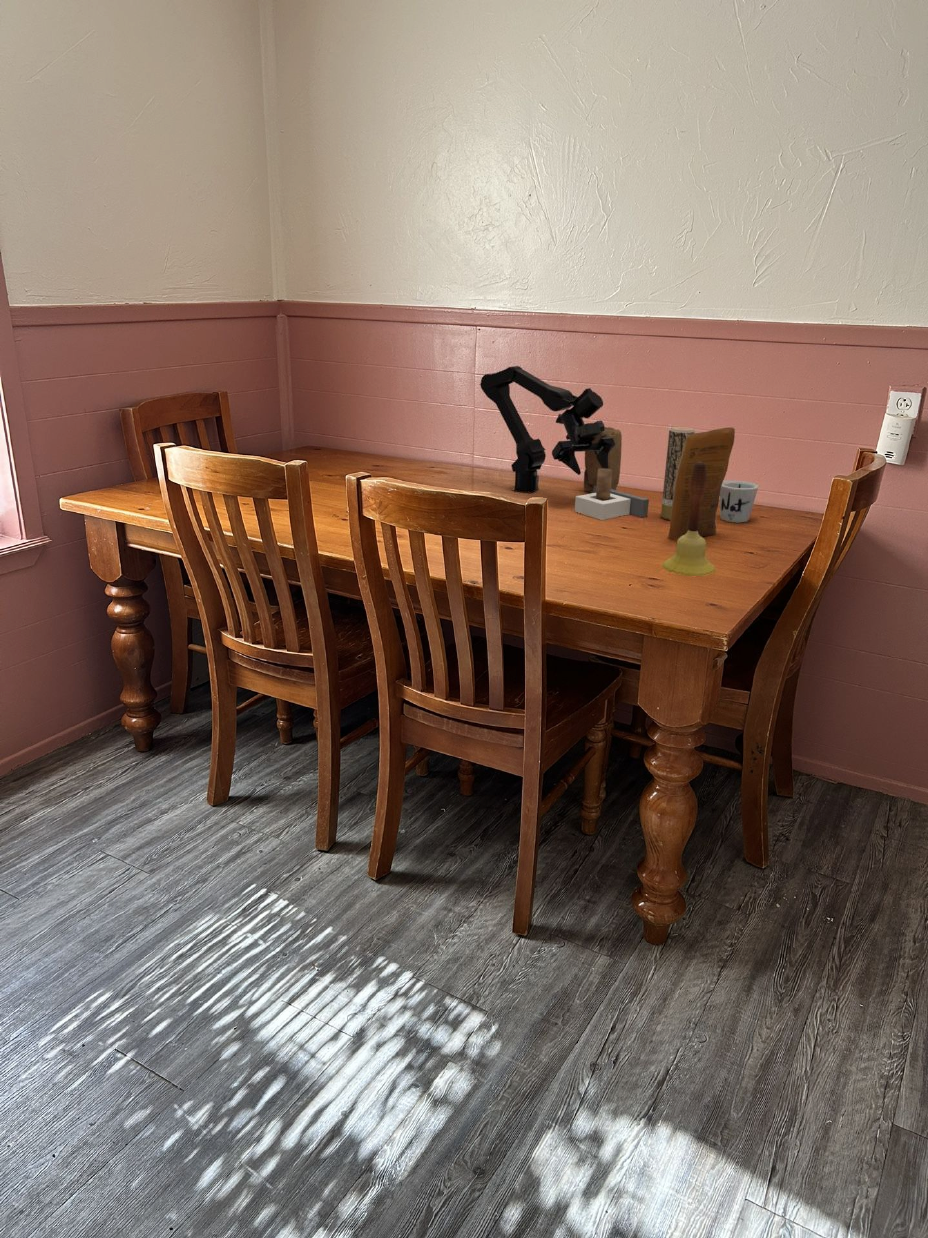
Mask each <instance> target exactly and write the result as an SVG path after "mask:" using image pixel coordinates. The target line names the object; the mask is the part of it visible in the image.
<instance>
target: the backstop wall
mask: <svg viewBox="0 0 928 1238" xmlns="http://www.w3.org/2000/svg"><path fill="white" fill-rule="evenodd" d="M596 489H597V486H593V493H596ZM611 494H614V495H618V496H622V497H625V498H629V499H631V502H630V514H629V515H631V516H635V517H639V518H646V517H648V513H649V502H650V499H649V498H645V497H642V496H639V495H638V496H637V495H634V494H631V493H626V492H623V491H620V490H613V489H611Z"/></svg>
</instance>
